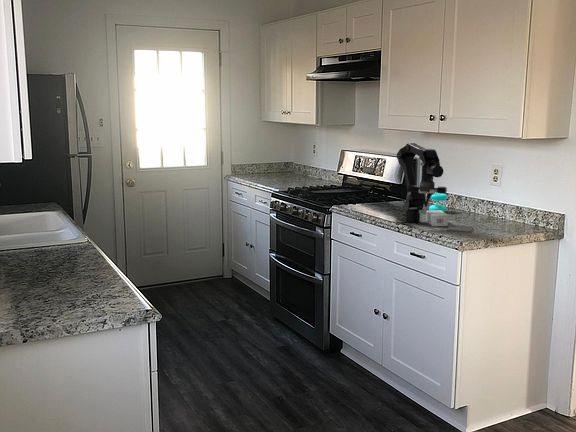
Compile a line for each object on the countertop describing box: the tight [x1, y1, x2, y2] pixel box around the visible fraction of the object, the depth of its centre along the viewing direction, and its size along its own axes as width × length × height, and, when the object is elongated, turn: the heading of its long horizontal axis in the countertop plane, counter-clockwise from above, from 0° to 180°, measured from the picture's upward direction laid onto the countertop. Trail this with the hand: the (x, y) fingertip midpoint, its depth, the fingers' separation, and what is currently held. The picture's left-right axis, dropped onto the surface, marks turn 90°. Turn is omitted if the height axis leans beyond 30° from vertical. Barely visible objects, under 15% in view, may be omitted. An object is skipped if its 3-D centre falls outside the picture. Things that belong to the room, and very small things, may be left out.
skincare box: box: [425, 209, 449, 227], centre depth 305 cm, size 8×6×15 cm
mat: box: [446, 224, 474, 234], centre depth 293 cm, size 11×14×1 cm
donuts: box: [428, 192, 449, 213], centre depth 343 cm, size 10×10×10 cm
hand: (425, 206), depth 297 cm, fingers closed
